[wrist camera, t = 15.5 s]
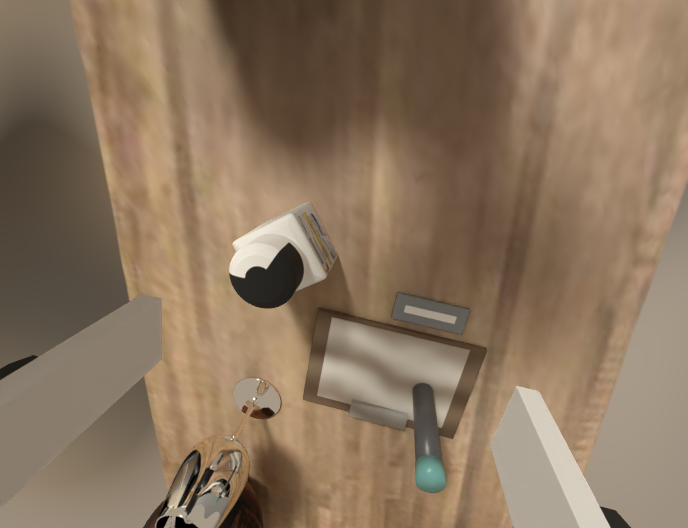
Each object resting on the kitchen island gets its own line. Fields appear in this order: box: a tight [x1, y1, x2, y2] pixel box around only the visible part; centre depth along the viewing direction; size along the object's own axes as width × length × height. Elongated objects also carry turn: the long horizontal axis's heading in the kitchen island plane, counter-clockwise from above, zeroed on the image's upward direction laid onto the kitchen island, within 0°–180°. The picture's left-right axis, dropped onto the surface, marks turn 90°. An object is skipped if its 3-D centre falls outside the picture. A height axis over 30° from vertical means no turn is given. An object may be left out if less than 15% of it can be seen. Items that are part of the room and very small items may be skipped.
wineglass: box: [155, 377, 281, 528], centre depth 45 cm, size 8×8×20 cm
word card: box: [392, 293, 470, 335], centre depth 45 cm, size 4×9×1 cm, turn 79°
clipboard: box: [303, 308, 487, 439], centre depth 48 cm, size 15×22×2 cm
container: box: [229, 202, 338, 308], centre depth 38 cm, size 8×8×13 cm
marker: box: [412, 383, 446, 493], centre depth 42 cm, size 3×3×13 cm
